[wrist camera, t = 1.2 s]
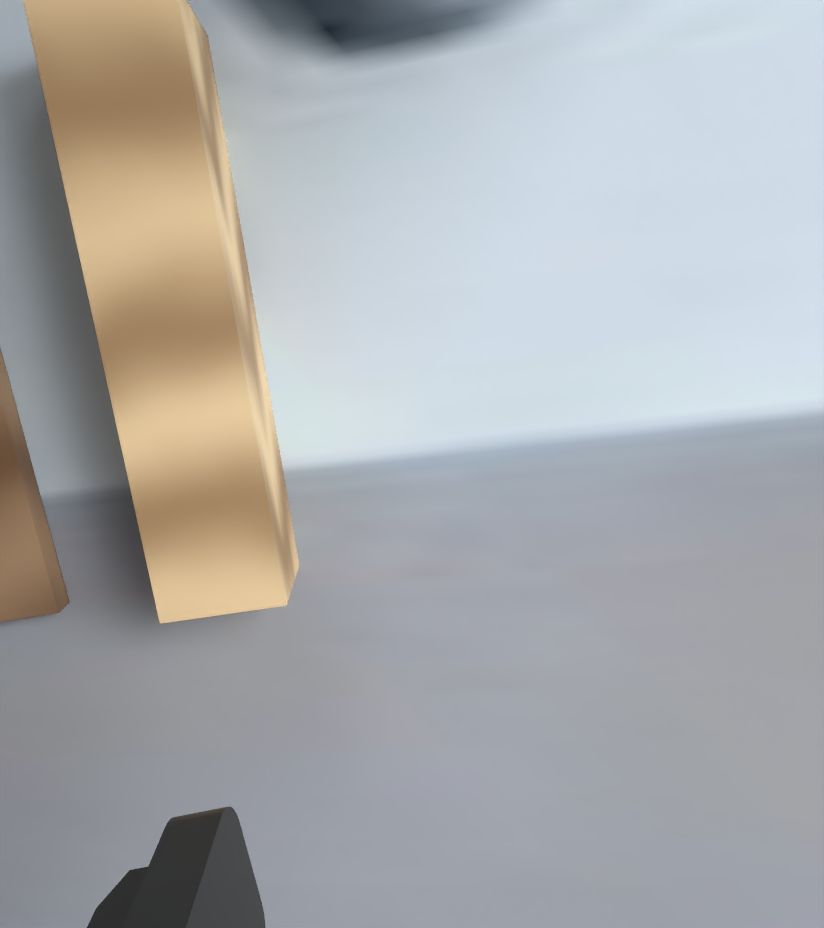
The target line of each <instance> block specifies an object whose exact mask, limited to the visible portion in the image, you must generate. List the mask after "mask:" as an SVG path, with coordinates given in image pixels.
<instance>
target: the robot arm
mask: <svg viewBox="0 0 824 928" xmlns="http://www.w3.org/2000/svg"><path fill="white" fill-rule="evenodd" d="M87 928H265V919H264V912H263V907H262V902H261V899H260V895H259V891H258V888H257V884H256V880H255V877H254V873H253V870H252V866H251V862H250V859H249V855H248V851H247V848H246V844H245V840H244V837H243V833H242V829H241V826H240V822H239V819H238V816H237V814H236V812H235V810H234V809H233V808H232V807H230V806H229V807H224V808H219V809H214V810H209V811H204V812H199V813H194V814H188V815H183V816H178V817H173V818H171V819H170V820H169V821H168V823H167V825H166V827H165V829H164V831H163V834H162V836H161V838H160V841H159V843H158V845H157V848H156V850H155V852H154V855H153V857H152V860H151V862H150V864H149V867H144V868H139V869H134V870H130V871H129V872H128V873H127V874H126V875H125V876H124V877H123V879H122V880H121V881H120V882H119V883H118V884H117V885H116V886H115V888H114V889H113V890H112V891H111V892H110V893H109V894H108V896H107V897H106V898H105V899H104V900H103V901H102V902H101V903H100V905H99V906H98V907H97V908H96V910H95V912H94V914H93V916H92V918H91V921H90V923H89V925H88V927H87Z"/></svg>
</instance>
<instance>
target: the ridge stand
mask: <svg viewBox="0 0 824 928" xmlns="http://www.w3.org/2000/svg"><path fill="white" fill-rule="evenodd" d="M68 603H69V599H68V596H67V592H66V588H65V585H64V581H63V577H62V574H61V570H60V566H59V563H58V559H57V555H56V552H55V548H54V544H53V541H52V537H51V533H50V529H49V526H48V522H47V518H46V515H45V511H44V507H43V504H42V500H41V496H40V493H39V489H38V485H37V482H36V478H35V474H34V471H33V467H32V463H31V460H30V456H29V452H28V448H27V445H26V441H25V437H24V434H23V430H22V426H21V423H20V419H19V415H18V412H17V408H16V404H15V401H14V397H13V393H12V390H11V386H10V382H9V378H8V375H7V371H6V367H5V364H4V360H3V356H2V353H1V349H0V622H4V621H10V620H16V619H22V618H28V617H34V616H40V615H46V614H52V613H58V612H60V611H61V610H62V609H63V608H64V607H65V606H66V605H67V604H68Z"/></svg>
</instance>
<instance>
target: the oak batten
mask: <svg viewBox="0 0 824 928" xmlns="http://www.w3.org/2000/svg"><path fill="white" fill-rule="evenodd" d="M23 2H24V6H25V11H26V16H27V20H28V25H29V29H30V34H31V38H32V43H33V48H34V52H35V57H36V61H37V66H38V70H39V75H40V79H41V84H42V89H43V93H44V98H45V102H46V107H47V111H48V116H49V121H50V125H51V130H52V134H53V139H54V143H55V148H56V152H57V157H58V162H59V166H60V171H61V175H62V180H63V184H64V189H65V193H66V198H67V203H68V207H69V212H70V216H71V221H72V225H73V230H74V235H75V239H76V244H77V248H78V253H79V257H80V262H81V266H82V271H83V276H84V280H85V285H86V289H87V294H88V298H89V303H90V308H91V312H92V317H93V321H94V326H95V330H96V335H97V339H98V344H99V349H100V353H101V358H102V362H103V367H104V371H105V376H106V380H107V385H108V390H109V394H110V399H111V403H112V408H113V412H114V417H115V422H116V426H117V431H118V435H119V440H120V444H121V449H122V453H123V458H124V463H125V467H126V472H127V476H128V481H129V485H130V490H131V495H132V499H133V504H134V508H135V513H136V517H137V522H138V526H139V531H140V536H141V540H142V545H143V549H144V554H145V558H146V563H147V567H148V572H149V577H150V581H151V586H152V590H153V595H154V599H155V604H156V609H157V613H158V618H159V622H160V624H161V623H168V622H175V621H182V620H189V619H196V618H203V617H210V616H217V615H224V614H231V613H238V612H245V611H252V610H259V609H266V608H273V607H280V606H287V603H288V600H289V597H290V593H291V590H292V587H293V584H294V581H295V578H296V575H297V572H298V569H299V561H298V555H297V549H296V543H295V537H294V532H293V526H292V520H291V514H290V509H289V503H288V497H287V491H286V485H285V480H284V474H283V468H282V462H281V457H280V451H279V445H278V439H277V434H276V428H275V422H274V416H273V410H272V405H271V399H270V393H269V387H268V382H267V376H266V370H265V364H264V359H263V353H262V347H261V341H260V335H259V330H258V324H257V318H256V312H255V307H254V301H253V295H252V289H251V284H250V278H249V272H248V266H247V260H246V255H245V249H244V243H243V237H242V232H241V226H240V220H239V214H238V209H237V203H236V197H235V191H234V185H233V180H232V174H231V168H230V162H229V157H228V151H227V145H226V139H225V134H224V128H223V122H222V116H221V110H220V105H219V99H218V93H217V87H216V82H215V76H214V70H213V64H212V59H211V53H210V47H209V41H208V35H207V34H206V32H205V30H204V29H203V27H202V25H201V24H200V22H199V20H198V18H197V17H196V15H195V13H194V12H193V10H192V8H191V7H190V5H189V3H188V2H187V0H23Z"/></svg>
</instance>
